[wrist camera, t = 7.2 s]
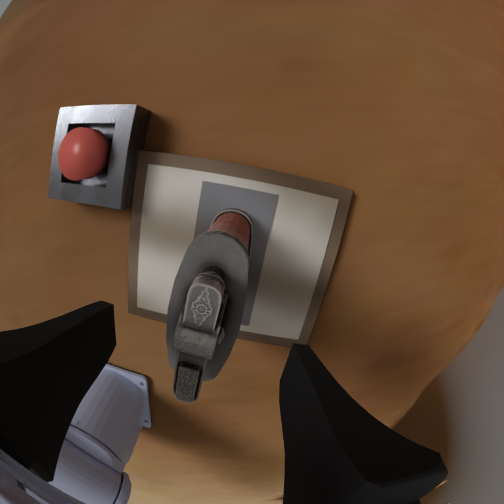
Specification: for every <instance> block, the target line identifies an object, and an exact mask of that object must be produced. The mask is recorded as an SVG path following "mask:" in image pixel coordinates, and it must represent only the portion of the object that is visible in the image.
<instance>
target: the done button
mask: <svg viewBox="0 0 504 504" xmlns="http://www.w3.org/2000/svg"><path fill="white" fill-rule="evenodd" d="M108 158H109V143H108V140H107V138H106V136H105V135H104V134H103V133H102V132H101V131H99V130H96V129H91V128H84V127H78V128H75V129H73V130H71V131H70V132H69V133H68V134H67V135H66V136H65V137H64V139H63V140H62V142H61V145H60V148H59V152H58V163H59V167H60V170H61V172H62V173H63V175H64V176H65V177H66V178H68V179H70V180H74V181H76V180H83V179H91V178H94V177H96V176H97V175H99V174H100V173H101V172H102V171H103V169H104V168H105V166H106V164H107V162H108Z"/></svg>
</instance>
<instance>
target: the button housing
mask: <svg viewBox="0 0 504 504" xmlns="http://www.w3.org/2000/svg"><path fill="white" fill-rule="evenodd" d="M150 113H151V111H149V110H147V109H145V108H143V107H141V106H138V105H129V104H119V105H88V106H73V107H62V108H60V112H59V117H58V122H57V127H56V133H55V139H54V146H53V153H52V161H51V171H50V184H49V198H53V199H59V200H65V201H71V202H78V203H84V204H90V205H96V206H102V207H108V208H113V209H119V210H121V209H123V208H126V207H129V206H132V203H133V194H134V186H135V178H136V171H137V164H138V158H139V151H140V150H141V151H143V148H144V143H145V137H146V132H147V127H148V122H149V117H150ZM78 127H84V128H91V129H96V130H99V131H101V132H102V133H103V134H104V135H105V136H106V138H107V140H108V143H109V158H108V162H107V164H106V166H105V168H104V169H103V171H102V172H101V173H100V174H99V175H97V176H96V177H94V178H91V179H83V180H76V181H74V180H70V179H68V178H66V177H65V176H64V175H63V173H62V172H61V170H60V167H59V163H58V152H59V148H60V145H61V142H62V140H63V139H64V137H65V136H66V135H67V134H68V133H69V132H70V131H71V130H73V129H75V128H78Z"/></svg>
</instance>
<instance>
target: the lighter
mask: <svg viewBox="0 0 504 504" xmlns="http://www.w3.org/2000/svg"><path fill="white" fill-rule="evenodd" d="M252 237H253V221H252V219H251V218H250V216H249V215H248V214H247V213H246V212H245V211H243V210H240V209H238V208H227V209H224V210H222V211H220V212H219V213H218V214H217V215H216V217H215V218H214V219H213V221H212V224H211V226H210V228H209V229H208V231H207V232H204V233H202V234H200V235H199V236H197V237H196V238H195V239H194V240H193V241H192V243H191V244H190V245H189V247H188V248H187V250H186V252H185V255H184V257H183V260H182V262H181V265H180V267H179V270H178V272H177V275H176V277H175V280H174V284H173V288H172V292H171V297H170V301H169V306H168V310H167V331H166V340H167V349H168V357H169V362H170V365H171V367H172V368H173V369H174V371H175V376H174V383H173V394H174V396H175V397H176V398H177V399H178V400H181V401H184V402H188V403H191V402H193V401H196V400H197V399H198V396H199V392H200V388H201V385H202V381H208V380H211V379H214V378H215V377H216V376H217V375H218V373H219V372H220V370H221V368H222V367H223V365H224V363H225V362H226V360H227V358H228V357H229V355H230V353H231V350H232V348H233V345H234V343H235V340H236V338H237V335H238V333H239V330H240V326H241V321H242V316H243V311H244V306H245V302H246V295H247V283H248V269H249V261H250V256H251V250H252Z"/></svg>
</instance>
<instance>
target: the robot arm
mask: <svg viewBox="0 0 504 504" xmlns="http://www.w3.org/2000/svg"><path fill="white" fill-rule="evenodd" d="M115 346H116V334H115V322H114V305H113V304H111V303H107V302H104V301H98V302H95V303H92V304H89V305H87V306H84V307H82V308H79V309H77V310H74V311H72V312H69V313H67V314H64V315H62V316H59V317H56V318H53V319H51V320H48V321H45V322H42V323H39V324H36V325H32V326H28V327H24V328H20V329H15V330H9V331H2V332H0V504H127V502H128V500H129V497H130V493H131V481H130V479H129V476H128V474H127V473H125V472H123V470H124V467H125V464H126V463H127V462H128V461H129V459H130V457H131V454H132V452H133V449H134V447H135V444H136V442H137V439H138V437H139V434H140V432H141V429H142V427H143V426H144V427H147V428H150V427H151V416H150V406H149V394H148V380H147V378H146V377H145V376H143V375H140V374H137V373H133V372H130V371H127V370H124V369H121V368H118V367H116V366H113V365H110V364H107V362H108V360H109V358H110V356H111V354H112V352H113V350H114V348H115ZM279 403H280V413H281V422H282V430H283V439H284V449H285V478H284V496H283V504H420V500H419V499H420V498H422V497H423V496H424V495H426V494H427V493H429V492H430V491H431V490H433V489H434V488H435V487H437V486H438V485H439V484H440V483H441V482H442V481H443V480H444V479H445V478H446V476H447V474H448V471H447V468H446V466H445V464H444V462H443V460H442V457H441V455H440V453H439V452H436V451H434V450H431V449H429V448H426V447H424V446H421V445H419V444H417V443H415V442H412V441H411V440H409V439H407V438H405V437H403V436H401V435H400V434H398V433H396V432H394V431H393V430H391V429H390V428H388V427H387V426H386V425H384V424H383V423H381V422H380V421H378V420H377V419H376V418H374V417H373V416H372V415H371V414H369V413H368V412H367V411H366V410H365V409H364V408H363V407H361V406H360V405H359V404H358V403H357V402H356V401H355V400H354V399H353V398H352V397H351V396H350V395H349V394H348V393H347V392H346V391H345V390H344V389H343V388H342V387H341V386H340V384H339V383H338V382H337V381H336V380H335V379H334V377H333V376H332V375H331V374H330V372H329V371H328V370H327V369H326V367H325V366H324V365H323V364H322V362H321V361H320V360H319V358H318V357H317V356H316V354H315V353H314V352H313V350H312V349H311V348H310V347H309V345H304V344H297V343H293V345H292V348H291V351H290V354H289V356H288V359H287V362H286V365H285V368H284V370H283V373H282V376H281V379H280V392H279ZM445 504H450V502H447V503H445Z"/></svg>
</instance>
